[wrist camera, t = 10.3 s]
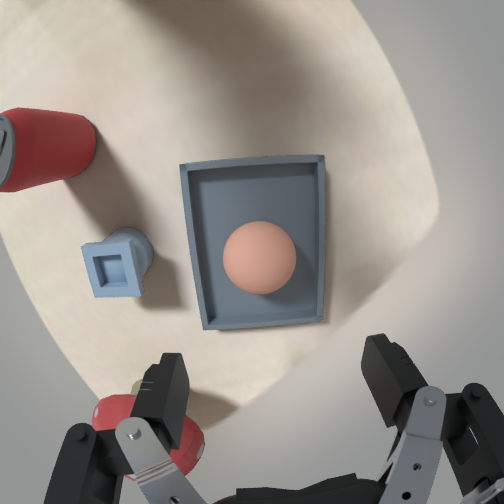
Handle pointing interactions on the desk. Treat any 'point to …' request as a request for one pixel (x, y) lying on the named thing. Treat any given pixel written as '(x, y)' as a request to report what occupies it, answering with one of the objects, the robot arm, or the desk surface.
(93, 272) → the square to round adapter
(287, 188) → the tray
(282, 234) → the ball
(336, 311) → the desk surface
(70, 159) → the beer can
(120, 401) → the decorative mushroom
